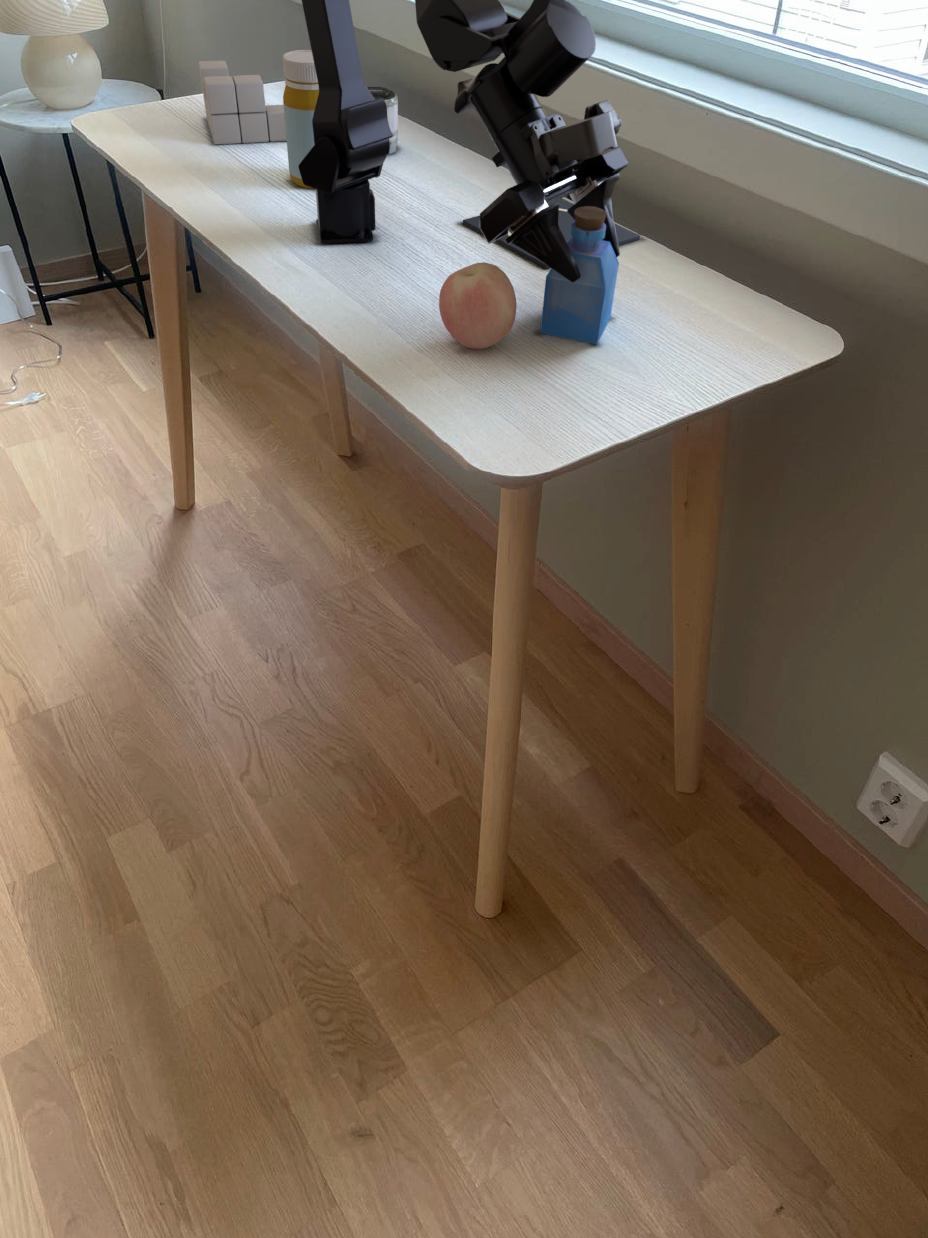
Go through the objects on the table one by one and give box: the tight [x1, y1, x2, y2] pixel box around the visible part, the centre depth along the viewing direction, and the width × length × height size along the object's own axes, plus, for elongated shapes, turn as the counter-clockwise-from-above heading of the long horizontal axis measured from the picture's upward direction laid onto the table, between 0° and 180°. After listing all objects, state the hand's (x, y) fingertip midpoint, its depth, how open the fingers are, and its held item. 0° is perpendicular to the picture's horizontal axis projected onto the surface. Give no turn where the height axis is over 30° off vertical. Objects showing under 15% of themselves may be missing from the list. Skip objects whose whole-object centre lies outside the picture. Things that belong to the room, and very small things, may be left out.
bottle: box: [282, 49, 319, 190], centre depth 121 cm, size 7×7×15 cm
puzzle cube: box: [198, 60, 287, 145], centre depth 138 cm, size 12×12×8 cm
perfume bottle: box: [539, 206, 620, 345], centre depth 95 cm, size 6×6×12 cm
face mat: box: [462, 198, 641, 270], centre depth 117 cm, size 16×16×1 cm
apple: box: [438, 261, 517, 350], centre depth 93 cm, size 8×8×8 cm
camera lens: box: [366, 86, 399, 155], centre depth 134 cm, size 6×6×8 cm
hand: (596, 268), depth 94 cm, fingers closed on perfume bottle, 7 cm apart
